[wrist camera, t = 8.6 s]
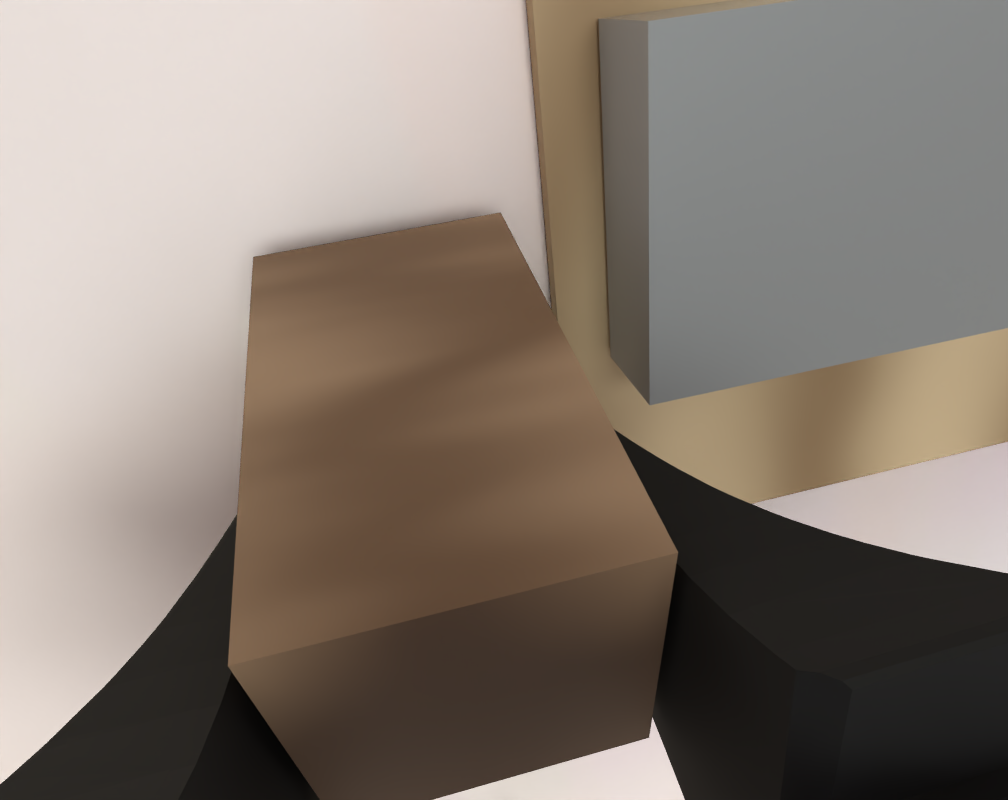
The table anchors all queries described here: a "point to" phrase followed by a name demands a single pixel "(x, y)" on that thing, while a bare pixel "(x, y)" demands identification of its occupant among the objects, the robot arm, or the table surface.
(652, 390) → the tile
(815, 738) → the robot arm
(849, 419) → the mat
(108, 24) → the table surface
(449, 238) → the block
